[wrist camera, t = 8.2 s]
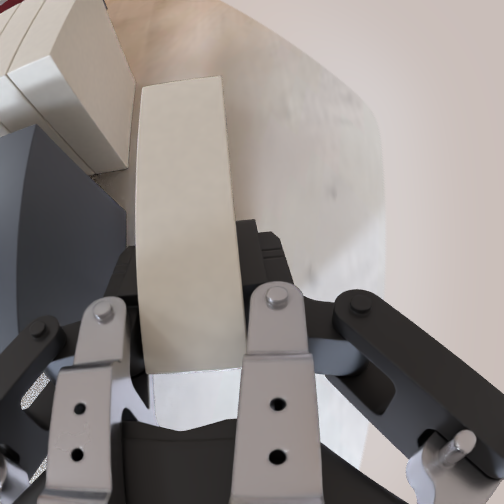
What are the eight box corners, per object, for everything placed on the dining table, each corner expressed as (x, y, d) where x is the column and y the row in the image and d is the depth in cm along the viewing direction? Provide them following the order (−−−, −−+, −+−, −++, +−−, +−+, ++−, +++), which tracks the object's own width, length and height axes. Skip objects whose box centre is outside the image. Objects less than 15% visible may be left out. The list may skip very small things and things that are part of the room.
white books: (40, 187, 21) (-58, 111, 9) (56, 102, 22) (-7, 16, 10) (128, 168, 21) (49, 54, 9) (136, 81, 23) (93, -30, 11)
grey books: (20, 345, 18) (-94, 349, 7) (19, 229, 20) (-82, 178, 9) (133, 346, 19) (23, 372, 8) (126, 211, 20) (36, 122, 9)
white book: (203, 339, 19) (144, 374, 7) (192, 205, 20) (141, 83, 9) (246, 336, 19) (252, 368, 7) (233, 201, 21) (222, 72, 9)
